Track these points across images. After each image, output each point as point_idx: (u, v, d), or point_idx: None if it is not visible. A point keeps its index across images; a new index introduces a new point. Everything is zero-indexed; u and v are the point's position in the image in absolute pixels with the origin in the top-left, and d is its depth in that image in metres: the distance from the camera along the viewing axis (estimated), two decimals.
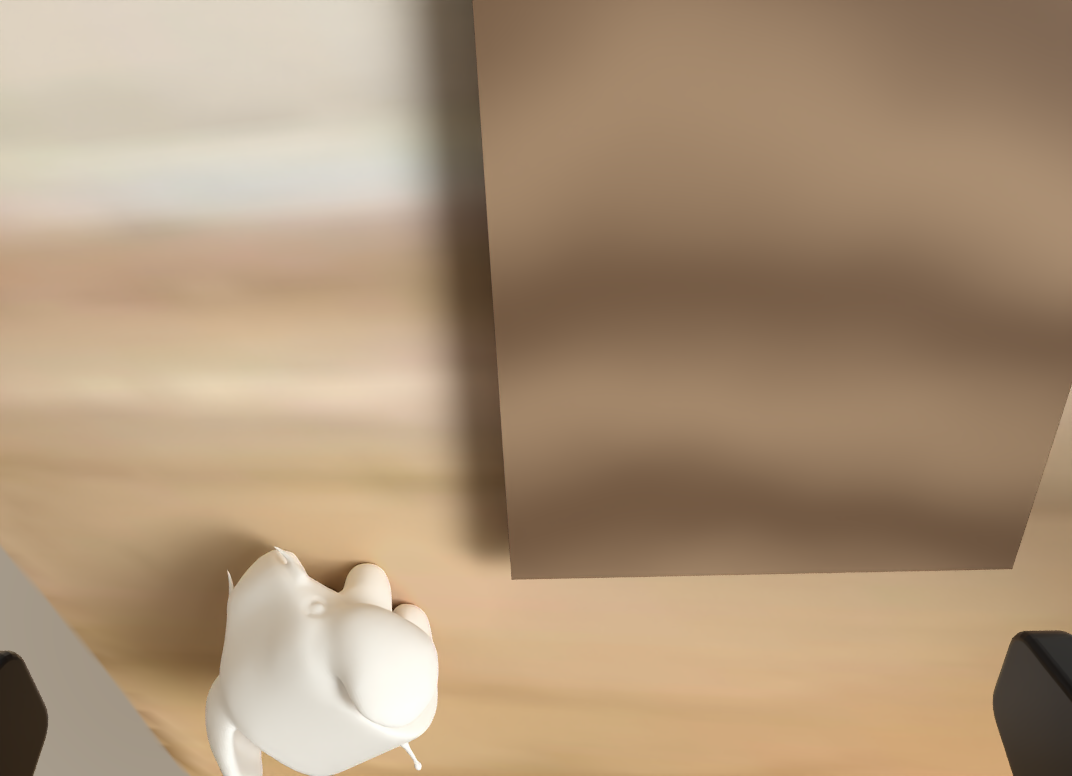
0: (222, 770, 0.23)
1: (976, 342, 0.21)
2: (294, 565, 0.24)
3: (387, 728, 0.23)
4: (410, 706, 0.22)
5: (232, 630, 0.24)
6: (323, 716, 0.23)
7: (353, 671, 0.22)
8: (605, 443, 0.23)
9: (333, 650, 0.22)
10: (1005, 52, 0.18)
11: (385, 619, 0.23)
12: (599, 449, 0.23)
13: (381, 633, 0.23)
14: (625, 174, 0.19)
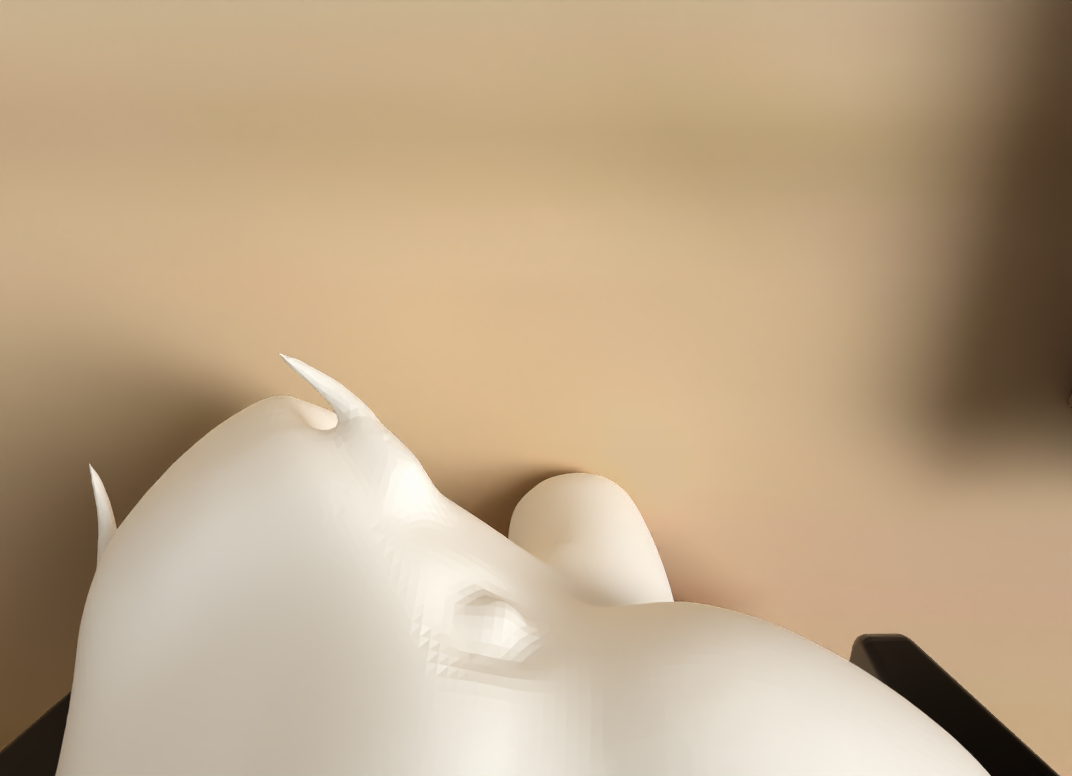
0: None
1: None
2: (373, 429, 0.05)
3: None
4: None
5: (89, 726, 0.05)
6: None
7: None
8: None
9: None
10: None
11: (845, 685, 0.05)
12: None
13: (876, 767, 0.04)
14: None
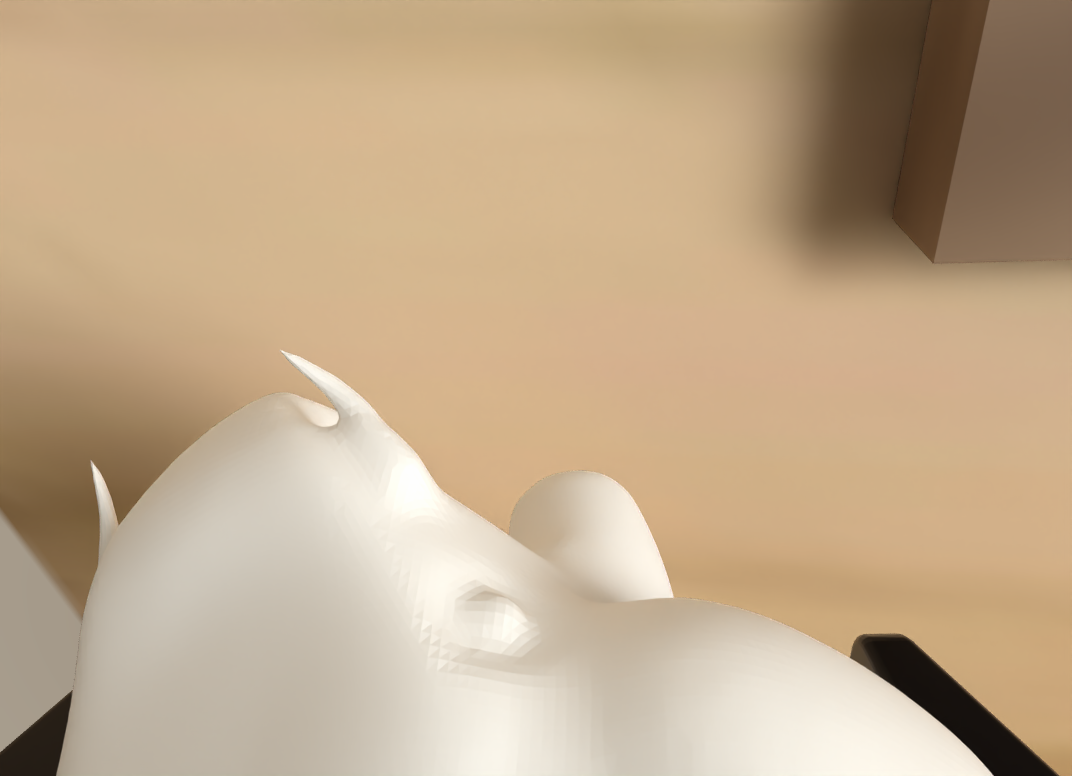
0: None
1: None
2: (374, 428, 0.05)
3: None
4: None
5: (91, 720, 0.05)
6: None
7: None
8: None
9: None
10: None
11: (846, 681, 0.05)
12: None
13: (878, 764, 0.04)
14: None
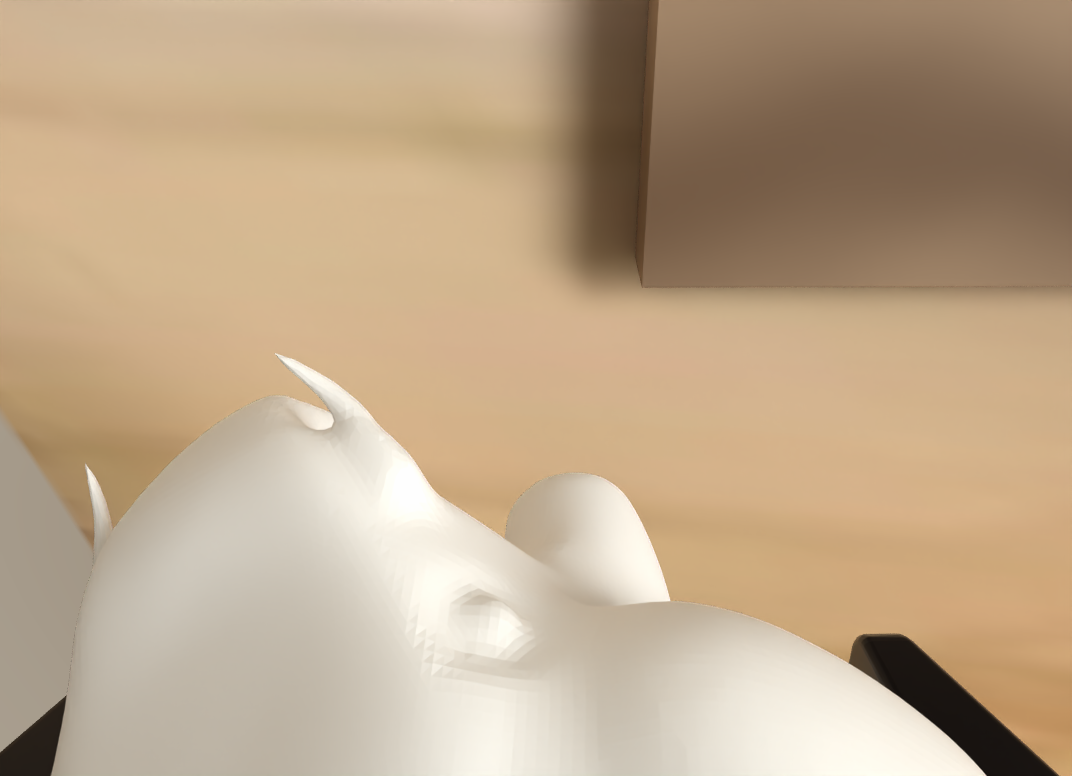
0: None
1: None
2: (368, 429, 0.05)
3: None
4: None
5: (85, 726, 0.05)
6: None
7: None
8: (820, 25, 0.14)
9: None
10: None
11: (841, 685, 0.05)
12: (809, 36, 0.14)
13: (870, 767, 0.04)
14: None
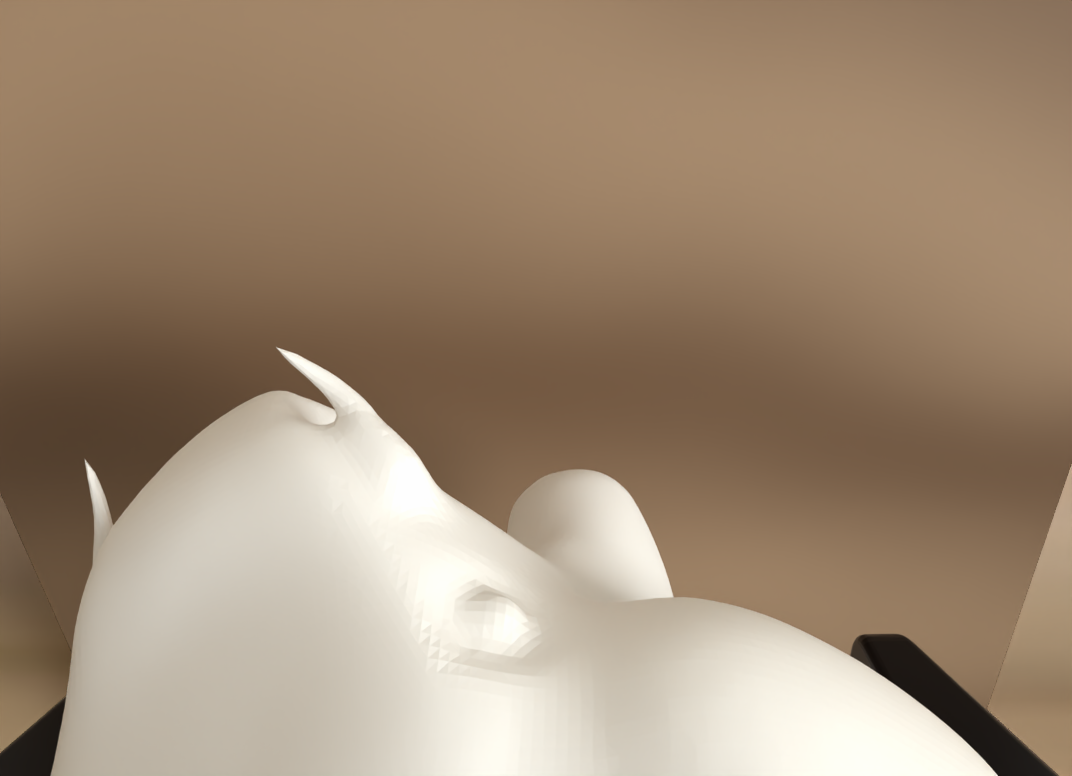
0: None
1: (869, 466, 0.12)
2: (371, 425, 0.05)
3: None
4: None
5: (86, 722, 0.05)
6: None
7: None
8: None
9: None
10: None
11: (850, 681, 0.05)
12: None
13: (883, 765, 0.04)
14: (134, 154, 0.09)
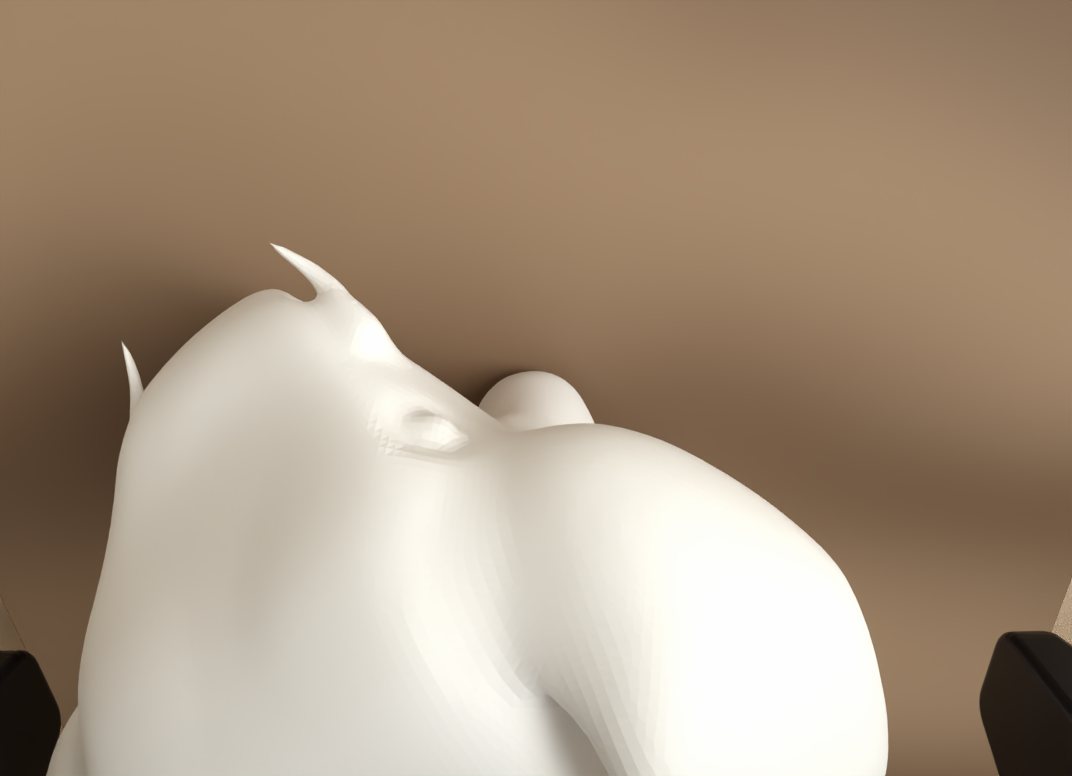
0: None
1: (885, 509, 0.11)
2: (344, 298, 0.07)
3: None
4: None
5: (128, 526, 0.07)
6: None
7: (629, 669, 0.05)
8: None
9: (523, 580, 0.05)
10: None
11: (700, 469, 0.06)
12: None
13: (710, 513, 0.06)
14: (107, 188, 0.09)
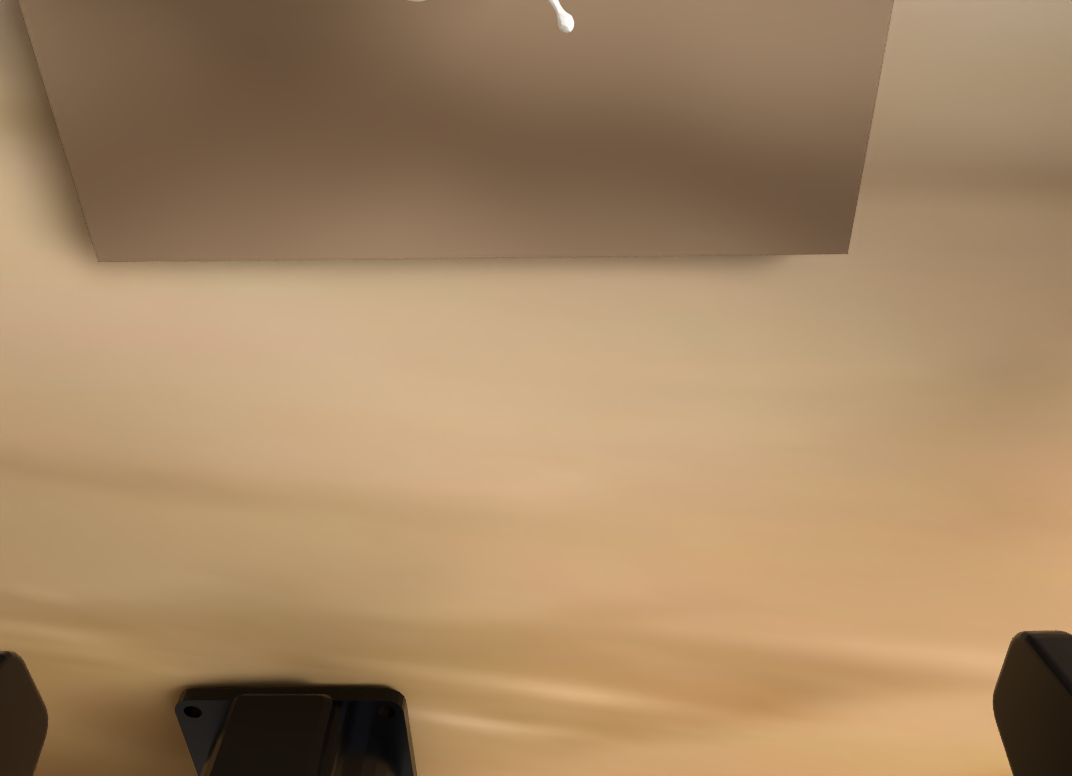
0: None
1: None
2: None
3: None
4: None
5: None
6: None
7: None
8: None
9: None
10: None
11: None
12: (171, 7, 0.14)
13: None
14: None
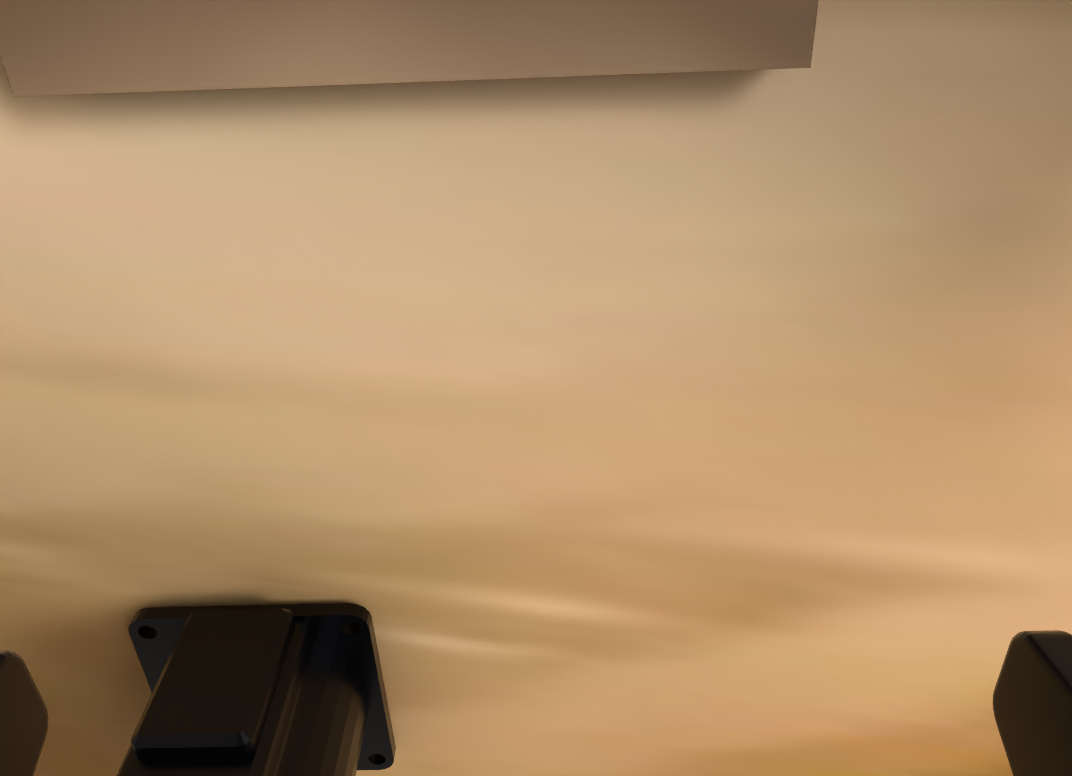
0: None
1: None
2: None
3: None
4: None
5: None
6: None
7: None
8: None
9: None
10: None
11: None
12: None
13: None
14: None
